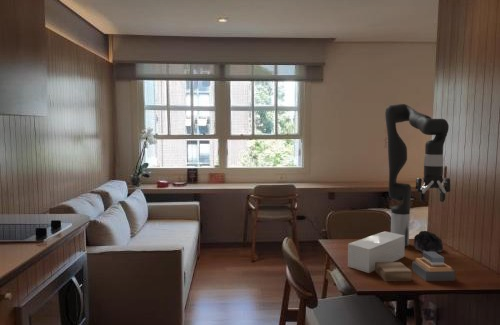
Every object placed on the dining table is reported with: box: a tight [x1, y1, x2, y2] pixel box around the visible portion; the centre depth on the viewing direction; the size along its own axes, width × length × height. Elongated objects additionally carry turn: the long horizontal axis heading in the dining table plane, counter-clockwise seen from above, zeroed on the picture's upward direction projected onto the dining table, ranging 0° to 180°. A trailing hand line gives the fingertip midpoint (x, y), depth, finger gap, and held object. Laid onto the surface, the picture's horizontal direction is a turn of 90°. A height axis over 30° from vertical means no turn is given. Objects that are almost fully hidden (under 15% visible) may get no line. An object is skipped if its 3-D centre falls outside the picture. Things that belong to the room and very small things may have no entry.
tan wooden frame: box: [411, 257, 456, 282], centre depth 157 cm, size 12×12×6 cm
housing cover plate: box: [422, 252, 445, 263], centre depth 157 cm, size 5×8×2 cm, turn 2°
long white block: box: [347, 230, 406, 274], centre depth 175 cm, size 32×11×11 cm, turn 131°
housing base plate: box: [421, 256, 445, 267], centre depth 157 cm, size 5×8×3 cm, turn 2°
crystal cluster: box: [413, 230, 444, 253], centre depth 192 cm, size 14×14×10 cm
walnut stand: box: [374, 261, 413, 282], centre depth 157 cm, size 11×11×4 cm
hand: (432, 201), depth 163 cm, fingers open, 8 cm apart
